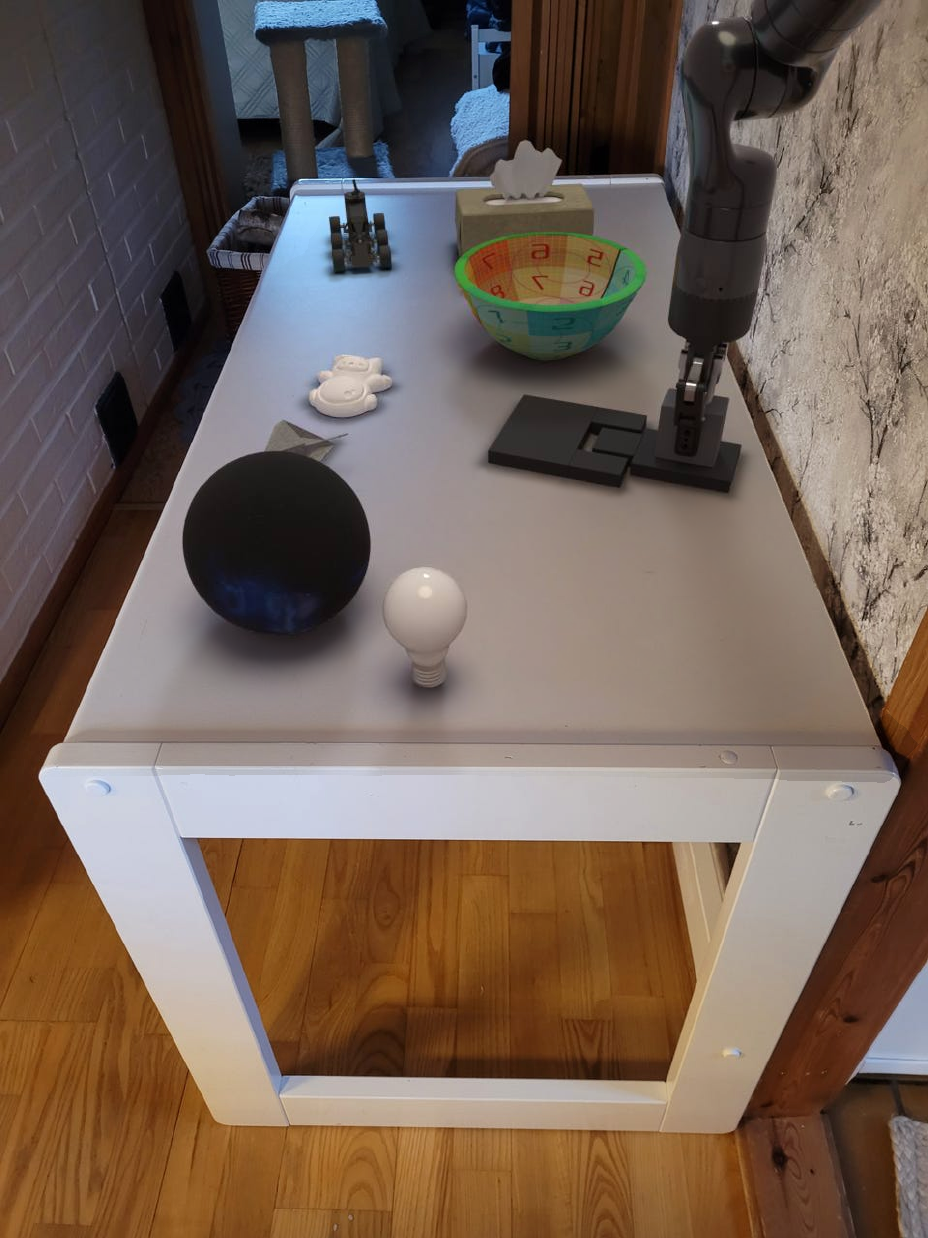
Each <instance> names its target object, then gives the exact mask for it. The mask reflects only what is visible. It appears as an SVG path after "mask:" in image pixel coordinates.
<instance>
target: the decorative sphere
mask: <svg viewBox="0 0 928 1238" xmlns="http://www.w3.org/2000/svg"><path fill="white" fill-rule="evenodd" d="M369 525H370V524H369V521H368V518H367V515H366V512H365V509H364V507H363V504H362V503H361V501H360V499H359V497H358V496H357V494H356V492H355V491H354V490H353V488H352V487H351V486H350V484H348V482H347V481H346V480H345V479H344V478H343V477H342V476H341V475H340V474H338V473H337V472H336V471H335V470H333V469H332V468H331V467H329V465H328V466H327V464H324V463H323V462H321V461H320V462H319V461H317V460H315V459H313V458H310V457H307V456H305V455H301V454H297V453H293V452H286V451H257V452H254V453H249V454H246V455H243V456H239V457H238V458H236V459H235V458H234V459H233V460H231V461H229V462H228V463H226V464H224V465H223V466H221V467H219V468H218V469H217V470H216V471H214V472H213V473H212V474H211V475H210V476H209V477H208V478H207V479H206V480H205V481H204V482H203V484H202V485H201V486H200V487H199V489H198V490H197V491H196V493H195V495H194V496H193V498H192V500H191V502H190V504H189V506H188V509H187V512H186V514H185V518H184V523H183V527H182V541H181V544H182V545H181V546H182V556H183V561H184V565H185V568H186V571H187V574H188V576H189V580H190V581H191V583H192V586H193V587H194V588H195V590H196V592H197V594H198V595H199V596H200V598H201V599H202V600H203V601H204V602H205V604H206V605H207V606H208V607H209V608H210V609H211V610H212V611H213V612H215V613H216V614H217V615H219V616H220V618H222V619H223V620H225V621H227V622H229V623H230V624H232V625H233V626H236V627H237V628H241V629H242V630H246V631H249V632H252V633H256V634H262V635H267V636H268V635H269V636H289V635H296V634H300V633H304V632H307V631H310V630H313V629H316V628H318V627H320V626H323V625H324V624H326V623H327V622H328V621H331V620H332V619H333V618H335V617H336V616H338V615H339V614H340V613H341V612H342V611H343V610H344V609H345V608H346V607H347V606H348V605H349V604H350V602H351V601H352V600H353V599H354V598H355V596H356V595H357V593H358V592H359V590H360V587H361V586H362V584H363V582H364V580H365V577H366V575H367V572H368V568H369V564H370V558H371V553H372V550H371V549H372V539H371V531H370V526H369Z"/></svg>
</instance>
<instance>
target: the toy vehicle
mask: <svg viewBox="0 0 928 1238" xmlns="http://www.w3.org/2000/svg"><path fill="white" fill-rule="evenodd" d="M351 182H352V185H353V190H352V191H347V192H345V193H344V194H343V198H344V206H345V216H346V217H345V218H346V223H345V222H342V224H341V217H340V215H334V216H328V221H329V230H330V245H331V259H332V265H333V271H334V273H341V272H346V265H347V266H350V265H351V267H352V269H353V268H366V267H367V268H368V267H374V266H375V265H374V263H375V264H378V260H379V266H380V267H379V268H380V269H390V268H392V267H393V264H392V262H393V261H392V252H391V245H389V236H388V235H389V234H388V231H387V230H388V229H386V221H385V220H386V219H385V213H384V212H374V213H372V219H373V222H372V221H371V220H369V217H368V215H369V214H368V210H367V201H366V195H365V194H366V193H365V192H364V191H361V190H360V189H359V188H358V186H357V183H356V178H354V179H352V180H351ZM342 229H343V233H342ZM373 229H374V230H373ZM373 231H374V235H375V236H374V235H372V236H371V234H372V233H373ZM344 233H346V234H344ZM344 235H348V237H345V238H344V241H343V236H344ZM375 238H376V239H375ZM376 248H377V250H373V249H376ZM344 249H345V251H350V252H349V253H348V252H346V253H344ZM345 256H346V258H345Z"/></svg>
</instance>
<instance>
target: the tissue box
mask: <svg viewBox="0 0 928 1238" xmlns="http://www.w3.org/2000/svg"><path fill="white" fill-rule="evenodd" d="M562 162H563V159H561V158H559V157H557V155H556V154H555V152H554V151H553V150H552V149H551V148H550V147H547V148H546V149H544V150H543V151H538V150H537V149H535V147H534V145H533V143H532V142H531V141H529V140H527V139H525V140H522V141H519V144H518V145H517V148H516V150H515V153H514V157H513V159H510V160H505V159H501V158H500V159H499V160H498V161H496V162H495V166H494V171H493V172H492V173H491V174H490V176H489V179H490V180H489V181H490V183H491V186H492V187H487V188H486V187H485V188H483V187H482V188H466V189H465V188H464V189H456V191H455V205H454V206H455V207H454V209H455V210H454V224H455V228H456V246H457V251H458V256H459V259H460V258H461V257H462V255H463V254H464V253H466V252H467V251H469V250H470V249H472V248H474V247H476V246H478V245H480V244H482V243H484V242H487V241H490V240H493V239H497V238H500V237H504V236H510V235H515V234H523V233H533V232H565V233H575V234H583V235H588V236H594V227H595V225H594V223H595V222H594V221H595V207H594V205H593V203H592V201H591V199H590V197H589V195H588V192H587V191H586V188H585V187H584V185H583V184H582V182H581V183H561V184H553V183H554V180H555V179H556V176H557V173H558V171H559V169H560V167H561V164H562Z"/></svg>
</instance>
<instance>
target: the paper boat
mask: <svg viewBox="0 0 928 1238" xmlns="http://www.w3.org/2000/svg"><path fill="white" fill-rule="evenodd" d="M348 435H349V433H343V434H339V435H337V436H334V437H331V438H328V439H325V438H323V437H322V436H319V435H317V434H315V433H313V432H310V431H309V430H306V429H305V428H303V427H300V426H298V425H296V424H293V423H292V422H289V421H288V420H285V419H281V420H280V421H279V422H278V423H276V424H275V425H274V426H273V428H272V431H271V433H270V436H269V438H268V441H267V443H266V446H265V448H264V451H286V452H293V453H297V454H301V455H305V456H307V457H310V458H313V459H315V460H317V461H319V462H321V461H322V460H323V458H324V457H326V455H327V454H329V452H330V451H331V450H332V449H333V448H334V446H335V445H336V444H335V443H334V442H332V441H331V440H334V439H340V438H342V437H346V436H348ZM264 451H263V452H264Z"/></svg>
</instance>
